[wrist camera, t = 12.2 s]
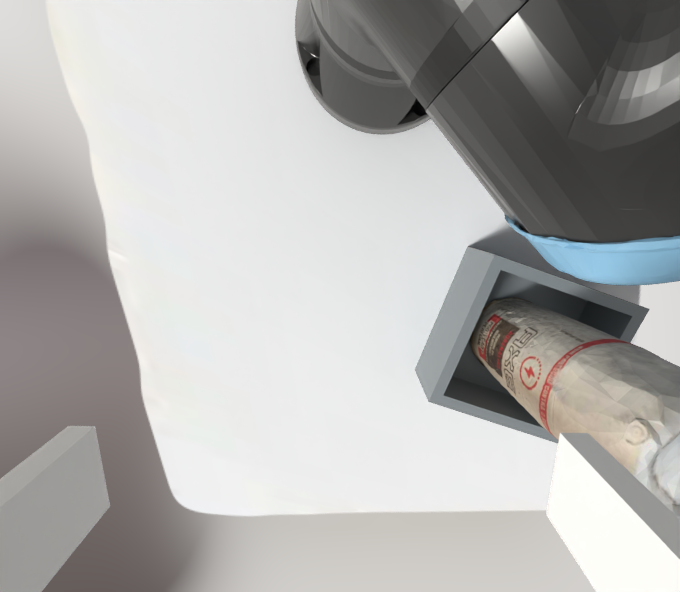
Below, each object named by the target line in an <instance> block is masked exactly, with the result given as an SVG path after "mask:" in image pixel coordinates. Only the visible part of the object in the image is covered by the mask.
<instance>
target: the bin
mask: <svg viewBox="0 0 680 592" xmlns="http://www.w3.org/2000/svg"><path fill="white" fill-rule="evenodd" d="M513 297H517V298H521V299H524V300H528V301H530V302H532V303H534V304H536V305H539V306H541V307H545V308H547V309H549V310H551V311H554V312H556V313H559V314H561V315H564V316H566V317H569V318H571V319H573V320H576V321H579V322H581V323H583V324H586V325H588V326H591V327H593V328H595V329H597V330H600V331H602V332H605V333H607V334H609V335H611V336H614V337H616V338H618V339H621V340H623V341H626V342H628V343H630V342H631V340H632V339H633V337H634V335H635V333H636V332H637V330H638V328H639V326H640V324H641V323H642V321H643V320H644V318H645V316H646V314H647V312H648V311H649V309H647V308H644V307H642V306H639V305H636V304H634V303H631V302H628V301H625V300H622V299H619V298H617V297H614V296H611V295H608V294H605V293H602V292H600V291H597V290H594V289H591V288H588V287H586V286H583V285H580V284H577V283H574V282H571V281H569V280H566V279H563V278H560V277H557V276H554V275H552V274H549V273H546V272H543V271H540V270H538V269H535V268H532V267H529V266H526V265H523V264H521V263H518V262H515V261H512V260H509V259H506V258H504V257H501V256H498V255H495V254H492V253H489V252H485V251H482V250H478V249H475V248H472V247H467V249H466V252H465V254H464V256H463V259H462V261H461V263H460V266H459V268H458V270H457V273H456V275H455V278H454V280H453V282H452V285H451V287H450V289H449V292H448V294H447V296H446V299H445V301H444V303H443V306H442V308H441V310H440V313H439V315H438V317H437V320H436V322H435V324H434V327H433V329H432V331H431V334H430V336H429V338H428V341H427V343H426V345H425V348H424V350H423V352H422V355H421V357H420V359H419V362H418V364H417V366H416V369H415V371H416V373H417V376H418V378H419V380H420V383H421V385H422V387H423V390H424V392H425V394H426V397H427V399H428V401H429V402H431V403H435V404H438V405H441V406H444V407H447V408H450V409H453V410H456V411H459V412H462V413H466V414H469V415H472V416H475V417H478V418H481V419H484V420H487V421H490V422H493V423H496V424H500V425H503V426H506V427H509V428H512V429H515V430H518V431H521V432H524V433H527V434H531V435H534V436H537V437H540V438H543V439H546V440H549V441H552V442H555V443H558V442H559V440H558V439H556V438H555V437H554V436H553V435H551V434H550V433H549V432H548V431H547V430H546V429H545V428H544V427H542V426H541V425H540V424H539V423H538V422H537V420H536V419H535V418H534V417H533V416H532V415H531V414H530V413H529V412H528V411H527V410H526V409H525V408H524V407H523V406H522V405H521V404H520V403H518V402H517V400H516V399H515V398H514V397H513V396H512V395H511V394H510V393H509V392H508V390H507V389H506V388H504V387H503V386H502V385H501V384H500V382H499V381H498V380H497V379H496V378H495V377H494V376H493V375H492V374H491V373H490V371H489V370H488V369H487V368H486V367H484V366H483V365H482V364H481V363H480V362H479V361H478V359H477V358H476V357H475V355H474V354H473V352H472V348H471V342H470V340H471V336H472V332H473V330H474V327H475V325H476V323H477V321H478V319H479V316H480V314H481V312H482V310H483V308H484V307H485V306H486V305H487V304H489V303H490V302H492V301H494V300H499V299H504V298H513Z"/></svg>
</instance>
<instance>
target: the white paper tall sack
mask: <svg viewBox="0 0 680 592" xmlns="http://www.w3.org/2000/svg"><path fill="white" fill-rule="evenodd" d="M470 342H471V348H472V352H473V354H474V355H475V357H476V358H477V359H478V361H479V362H480V363H481V364H482V365H483V366H484V367H486V368H487V369H488V370H489V371H490V373H491V374H492V375H493V376H494V377H495V378H496V379H497V380H498V381H499V382H500V384H501V385H502V386H503V387H504V388H506V389H507V390H508V392H509V393H510V394H511V395H512V396H513V397H514V398H515V399H516V400H517V402H518V403H520V404H521V405H522V406H523V407H524V408H525V409H526V410H527V411H528V412H529V413H530V414H531V415H532V416H533V417H534V418H535V419H536V420H537V422H538V423H539V424H540V425H541V426H542V427H544V428H545V429H546V430H547V431H548V432H549V433H550V434H551V435H553V436H554V437H555V438H556V439H558V440H559V436H560V433H588V434H590V435H591V436H592V437H593V438H594V439H595V440H596V441H597V442H598V443H599V444H600V445H601V446H602V447H603V448H604V449H606V450H607V451H608V452H609V453H610V454H611V455H612V456H613V457H614V458H615V459H616V460H617V461H618V462H619V463H620V464H622V465H623V466H624V467H625V468H626V469H627V470H628V471H629V472H630V473H631V474H632V475H633V476H634V477H635V478H636V479H638V480H639V481H640V482H641V483H642V484H643V485H644V486H645V487H646V488H647V489H648V490H649V491H650V492H651V493H652V494H654V495H655V496H656V497H657V498H658V499H659V500H660V501H661V502H662V503H663V504H664V505H665V506H666V507H667V508H668V509H670V510H671V511H672V512H673V513H674V514H675V515H676V516H677V517H678V518H679V519H680V367H679V366H677V365H674V364H672V363H670V362H668V361H666V360H664V359H662V358H660V357H659V356H657V355H655V354H653V353H651V352H649V351H647V350H645V349H643V348H641V347H638V346H636V345H633V344H631V343H628V342H626V341H623V340H621V339H618V338H616V337H614V336H611V335H609V334H607V333H605V332H602V331H600V330H597V329H595V328H593V327H591V326H588V325H586V324H583V323H581V322H579V321H576V320H573V319H571V318H569V317H566V316H564V315H561V314H559V313H556V312H554V311H551V310H549V309H547V308H545V307H541V306H539V305H536V304H534V303H532V302H530V301H528V300H524V299H521V298H517V297H513V298H504V299H499V300H494V301H492V302H490V303H489V304H487V305H486V306H485V307H484V308H483V310H482V312H481V314H480V316H479V319H478V321H477V323H476V325H475V327H474V330H473V332H472V336H471V340H470Z"/></svg>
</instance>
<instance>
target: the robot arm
mask: <svg viewBox="0 0 680 592" xmlns="http://www.w3.org/2000/svg"><path fill="white" fill-rule="evenodd" d="M295 36H296V45H297V51H298V55H299V60H300V63H301V66H302V69H303V73H304V75H305V78H306V81H307V83H308V85H309V87H310V89H311V91H312V93H313V94H314V96H315V97H316V99H317V100H318V101H319V103H320V104H321V105H322V106H323V107H324V109H325V110H326V111H327V112H328V113H329V114H331V115H332V116H333V117H334V118H336V119H337V120H338V121H340V122H341V123H343V124H345V125H347V126H349V127H351V128H353V129H355V130H358V131H362V132H366V133H371V134H394V133H399V132H403V131H406V130H409V129H412V128H414V127H416V126H418V125H420V124H422V123H424V122H425V121H427V120H429V119H430V118H431V119H432V120H433V122H434V123H435V124H436V126H437V127H438V128H439V129H440V131H441V132H442V133H443V135H444V136H445V137H446V138H447V140H448V141H449V142H450V144H451V145H452V146H453V147H454V149H455V150H456V151H457V153H458V154H459V155H460V156H461V158H462V159H463V160H464V162H465V163H466V164H467V165H468V167H469V168H470V169H471V171H472V172H473V173H474V174H475V176H476V177H477V178H478V180H479V181H480V182H481V183H482V185H483V186H484V187H485V189H486V190H487V191H488V192H489V194H490V195H491V196H492V198H493V199H494V200H495V201H496V203H497V204H498V205H499V207H500V208H501V209H502V210H503V212H504V213H505V219H506V221H507V222H508V223H509V225H510V226H511V227H512V228H513V229H514V230H515V231H516V232H517V233H519V234H521V235H523V236H524V237H526V238H527V239H528V241H529V242H530V243H531V244H532V245H533V246H534V247H535V248H536V250H537V251H538V252H539V253H540V254H541V255H542V257H543V258H544V259H545V260H546V261H547V262H548V263H549V264H550V265H552V266H553V267H554V268H556V269H557V270H559V271H561V272H564V273H568V274H570V275H572V276H574V277H576V278H579V279H582V280H585V281H589V282H595V283H601V284H610V285H649V284H659V283H667V282H675V281H680V0H298V2H297V8H296V19H295ZM109 507H110V503H109V498H108V493H107V487H106V482H105V477H104V472H103V467H102V461H101V456H100V451H99V445H98V440H97V435H96V429H95V426H68V427H67V428H65V429H64V430H63V431H61V432H60V433H59V434H58V435H56V436H55V437H54V438H53V439H51V440H50V441H49V442H47V443H46V444H45V445H43V446H42V447H41V448H40V449H38V450H37V451H36V452H34V453H33V454H32V455H31V456H29V457H28V458H27V459H25V460H24V461H23V462H22V463H20V464H19V465H18V466H16V467H15V468H14V469H12V470H11V471H10V472H9V473H7V474H6V475H5V476H3V477H2V478H1V479H0V592H42V590H43V589H44V588H45V587H46V585H47V584H48V583H49V582H50V580H51V579H52V578H53V577H54V575H55V574H56V573H57V572H58V570H59V569H60V568H61V567H62V565H63V564H64V563H65V562H66V560H67V559H68V558H69V557H70V555H71V554H72V553H73V551H74V550H75V549H76V548H77V546H78V545H79V544H80V543H81V541H82V540H83V539H84V538H85V536H86V535H87V534H88V533H89V532H90V530H91V529H92V528H93V527H94V525H95V524H96V523H97V522H98V520H99V519H100V518H101V517H102V515H103V514H104V513H105V512H106V510H107V509H108V508H109ZM546 515H547V516H548V518H549V520H550V521H551V523H552V524H553V526H554V527H555V529H556V530H557V532H558V533H559V535H560V537H561V538H562V540H563V541H564V543H565V544H566V546H567V547H568V549H569V550H570V552H571V554H572V555H573V557H574V558H575V560H576V561H577V563H578V564H579V566H580V567H581V569H582V570H583V572H584V573H585V575H586V577H587V578H588V580H589V581H590V583H591V585H592V586H593V587H594V589H595V591H596V592H680V519H679V518H678V517H677V516H676V515H675V514H674V513H673V512H672V511H671V510H670V509H668V508H667V507H666V506H665V505H664V504H663V503H662V502H661V501H660V500H659V499H658V498H657V497H656V496H655V495H654V494H652V493H651V492H650V491H649V490H648V489H647V488H646V487H645V486H644V485H643V484H642V483H641V482H640V481H639V480H638V479H636V478H635V477H634V476H633V475H632V474H631V473H630V472H629V471H628V470H627V469H626V468H625V467H624V466H623V465H622V464H620V463H619V462H618V461H617V460H616V459H615V458H614V457H613V456H612V455H611V454H610V453H609V452H608V451H607V450H606V449H604V448H603V447H602V446H601V445H600V444H599V443H598V442H597V441H596V440H595V439H594V438H593V437H592V436H591V435H590V434H588V433H560V436H559V442H558V448H557V453H556V459H555V465H554V471H553V477H552V483H551V489H550V494H549V500H548V506H547V512H546Z"/></svg>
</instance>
